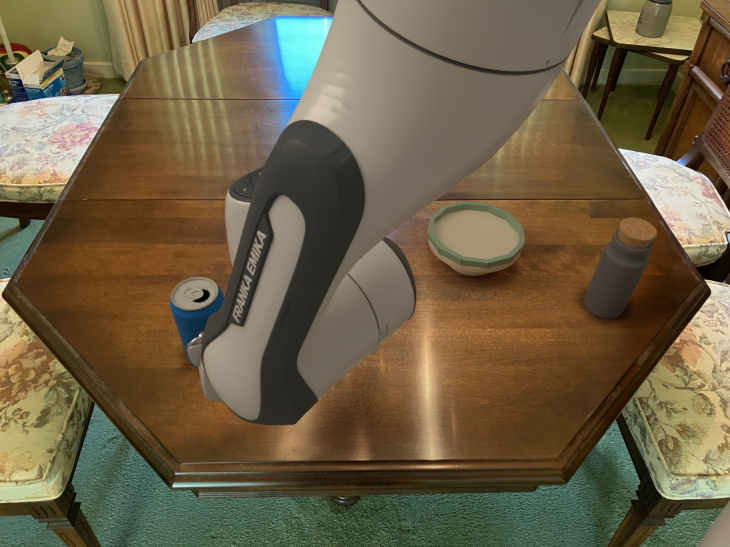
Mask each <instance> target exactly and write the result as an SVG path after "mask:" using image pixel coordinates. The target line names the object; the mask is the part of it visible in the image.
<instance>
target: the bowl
mask: <svg viewBox="0 0 730 547" xmlns="http://www.w3.org/2000/svg"><path fill="white" fill-rule="evenodd" d="M426 236H427V237H426V241H427V244H428V247H429V249H430V251H431V252H432V253H433V254H434V255H435V257H437V258H438V259H439V260H440V261H442V262H443V263H444V264H446V265H448V266H449V267H450V268H451V269H453V271H456V272H457V273H459V274H462V275H464V276H465V275H466V276H469V277H470V276H471V277H478V276H483V275H486V274H488V273H489V274H490V273H496V272H499V271H502V270H505V269H508V268H510V267H511V266H512V265H514V264H515V263H516V262H517V260H519V258H520V256H521V255H522V251H523V250H524V248H525V244H526V239H525V228H524V226H523V225H522V224H521V223H520V221H518V219H517V218H516V217H515V216H514V215H513V214H512V213H511V212H509V211H508V210H505V209H503V208H500V207H499V206H496V205H494V204H492V203H488V202H481V201H479V202H478V201H471V200H470V201H469V200H462V201H458V202H453V203H449V204H445V205H443V206H441V208H439V209H438V210H437V211H436V212H434V213H433V214H432V215H431V216H430V217H429V222H428V228H427V234H426Z"/></svg>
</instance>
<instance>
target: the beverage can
mask: <svg viewBox="0 0 730 547" xmlns="http://www.w3.org/2000/svg"><path fill="white" fill-rule="evenodd" d="M224 297H225V295H224V293H223V291H222V289H221V287H219V285H217V283H216V282H215V280H212V279H211V278H209V277H205V276H193V277H189V278H186V279H184V280H182V281H180V282H178V283H177V284H176V285H175V286H174V288H173V289H172V291H171V294H170V300H169V308H170V311H171V314H172V317H173V320H174V323H175V327H176V329H177V332H178V334H179V337H180V341H181V344H182V347H183V349H184V352H185V355H186V358H187V361H188V362H189V363H190V364H191V365H192V366H194V367H196V368H198V366H196V365H194V364H193V363H192V362H191V361H190V359H189V356H188V353H187V345H188V343H190V342H191V341H192V340H193V339H194V338H196V337H199V333H201V332H203V331H204V330H205V326H206V323H207V320H208V317H209V316H210V315H211V314H213V313H215V312H217V311H218V310H219V309H220V307H221V305H222V303H223V300H224Z"/></svg>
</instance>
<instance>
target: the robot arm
mask: <svg viewBox="0 0 730 547" xmlns="http://www.w3.org/2000/svg"><path fill="white" fill-rule="evenodd" d="M601 2H602V0H337V3H336V6H335V10H334V14H333V16H332V20H331V23H330V26H329V29H328V31H327V34H326V36H325V40H324V42H323V45H322V48H321V50H320V54H319V56H318V58H317V60H316V63H315V65H314V68H313V71H312V72H311V76H310V77H309V81H308V82H307V84H306V87H305V88H304V91H303V92H302V94H301V97H300V99H299V100H298V102H297V104H296V106H295V109H294V110H293V112H292V114H291V116H290V118H289V120H288V122H287V124H286V126H285V127H284V129H283V130H282V131H281V133H280V134H279V136H278V138H277V140H276V142H275V144H274V145H273V147H272V149H271V151H270V152H269V155H268V157H267V159H266V160H265V162H264V165H263V166H261V167H258V168H256V169H254V170H251V171H250V172H247V173H246V174H244V175H241V176H240V177H239V178H237V179H236V180H235V181H234V182H232V184H230V186H229V187H228V189H227V192H226V196H225V202H224V223H225V233H226V241H227V242H226V243H227V248H228V252H229V259H230V262H231V266H232V268H231V272H230V275H229V279H228V283H227V287H226V290H225V294H224V300H223V303H222V305H221V307H220V309H219V310H218V311H217V312H215V313H213V314H211V315H210V316H209V317H208V320H207V323H206V326H205V330H204V331H203V332H201V333H199V337H196V338H194V339H193V340H192V341H191V342H190V343H188V345H187V353H188V356H189V359H190V361H191V362H192V363H193V364H194V365H196V366H198V367H197V369H198V374H199V378H200V384H201V387H202V391H203V396H204V399H206V400H209V401H211V402H215V403H217V402H220V401H222V403H223V404H224V405H225V406H226V407H227V409H228V410H229V411H231V413H233V414H234V415H235V416H236V417H238V418H239V419H240V420H242V421H244V422H247V423H249V424H254V425H262V426H293V425H297V423H298V422H299V421H301V419H302V418H303V417H304V416H305V415H306V414H307V413H308V412H309V411H310V410H311V409H312V408H313V407H314V406H315V405H316V404H317V403H318V402H319V399H320V398H321V397H322V396H324V395H325V394H326V393H327V392H328V391H329V390H331V389H332V388H333V387H334V386H336V385H337V383H338V382H340V381H341V380H343V378H344V377H346V376H347V375H348V374H349V373H351V371H352V370H354V369H355V368H356V367H357V366H358V365H359V364H361V363H362V362H363V361H364V360H365V359H367V357H369V356H372V355H375V354H376V353H377V352H379V350H380V349H381V348H383V343H385V342H386V341H387V340H388V339H389V338H391V337H392V335H394V334H395V333H396V332H397V331H398V330H399V329H400V328H402V327H403V325H405V324H406V323H407V322H408V321H409V320H410V319H412V317H413V316H414V314H415V311H416V305H417V287H416V286H417V285H416V280H415V276H414V273H413V270H412V267H411V264H410V262H409V260H408V259H407V256H406V255H405V252H404V251H403V249H402V248H401V247H400V246H399V245H398V244H397V243H395V242H394V241H393V240H392V239H390V238H389V237H388V236H389V235H390V234H391V233H393V232H394V231H396V230H397V229H398V228H399V227H401V226H402V225H403V224H405V223H407V222H408V221H409V220H410V219H411V218H413V217H414V216H416V215H418V213H420V212H422V211H423V210H424V209H426V208H428V206H430V205H431V204H432V203H434V202H436V201H437V200H438V199H440V198H441V197H442V196H445V194H447V193H448V192H450V191H451V190H452V189H454V188H455V187H457V186H458V185H459V184H461V183H462V182H463V181H465V180H466V179H468V178H469V177H470V176H472V175H473V174H474V173H476V172H477V171H478V170H479V169H481V167H483V166H484V165H486V163H488V162H489V161H490V160H491V159H492V158H493V157H494V156H495V155H496V154H497V153H498V152H499V151H500V150H501V149H502V148H503V147H504V145H505V144H507V142H508V141H509V140H510V139H511V138H512V137H513V135H514V134H516V132H517V131H518V130H519V129H520V128H521V126H522V125H523V124H524V123H525V122H526V121H527V119H529V117H530V116H531V115H532V114H533V112H534V111H535V109H536V108H537V107H538V105H539V104H540V103H541V102H542V100H543V99H544V97H545V96H546V94H547V93H548V92H549V90H550V88H551V87H552V85H553V84H554V82H555V80H556V79H557V78H558V77H559V74H560V73H561V71H562V69H563V68H564V66H565V64H566V63H567V61H568V59H569V58H570V56H571V54H572V52H573V51H574V49H575V47H576V45H577V44H578V42H579V40H580V39H581V37H582V35H583V33H584V31H585V30H586V28H587V26H588V25H589V22H590V21H591V19H592V18H593V16H594V14H595V12H596V11H597V9H598V7H599V6H600V3H601ZM194 365H193V366H194ZM695 547H730V500H729V501H728V502H727V504H726V505H725V506H724V507H723V509H722V510H721V512H720V513H719V514H718V515H717V517H716V518H715V520H714V521H713V522H712V523H711V525H710V527H709V528H708V529H707V531H706V532H705V533H704V535H703V536H702V537H701V539H700V541H699V542H698V543H697V545H696V546H695Z"/></svg>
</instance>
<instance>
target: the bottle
mask: <svg viewBox="0 0 730 547" xmlns="http://www.w3.org/2000/svg"><path fill="white" fill-rule="evenodd" d="M657 235H658V230H657V228H656V227H655V226H654V225H653V224H652V223H651V222H649V221H647V220H645V219H642V218H639V217H626V218H623V219H622V220H620V222H619V226H618V228H617V229H616V230H614V232H613V235H612V237H611V241H609V242H607V244H606V245H605V247H604V248H603V251H602V252H601V255H600V258H599V260H598V262H597V265H596V267H595V269H594V272H593V275H592V276H591V279H590V282H589V284H588V286H587V289H586V291H585V294H584V296H583V305H584V307H585V309H587V311H588V312H589V313H591V314H592V315H594V316H596V317H598V318H601V319H605V320H607V319H608V320H611V319H616V318H618V317H620V316H621V315H622V314H623V313H624V311H625V308H626V306H627V305H628V303H629V301H630V299H631V297H632V295H633V293H634V292H635V289H636V287H637V285H638V283H639V281H640V280H641V277H642V275H643V274H644V271H645V270H646V268H647V265H648V263H649V254H650V253H651V251H652V249H653V247H654V240H655V238H656V237H657Z"/></svg>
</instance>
